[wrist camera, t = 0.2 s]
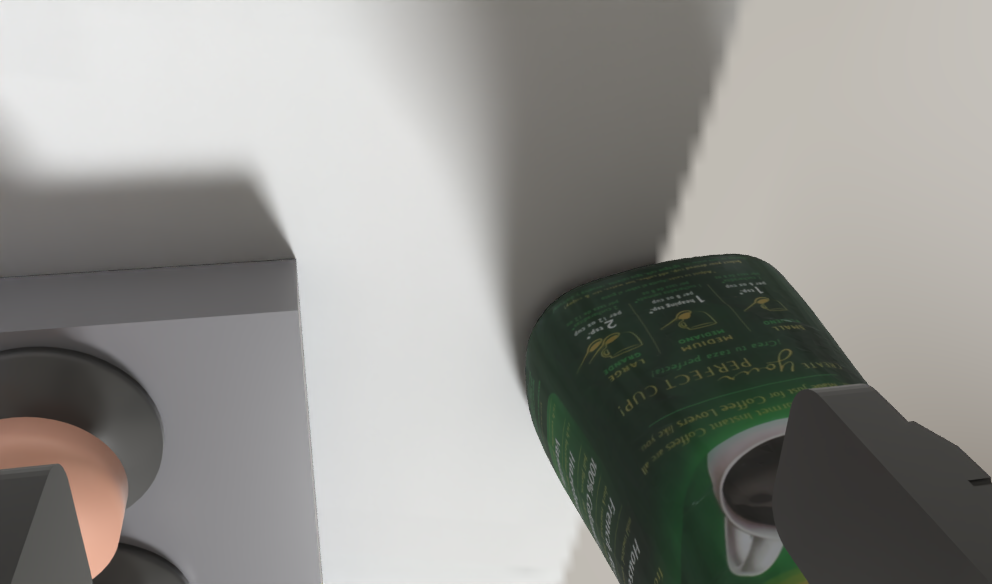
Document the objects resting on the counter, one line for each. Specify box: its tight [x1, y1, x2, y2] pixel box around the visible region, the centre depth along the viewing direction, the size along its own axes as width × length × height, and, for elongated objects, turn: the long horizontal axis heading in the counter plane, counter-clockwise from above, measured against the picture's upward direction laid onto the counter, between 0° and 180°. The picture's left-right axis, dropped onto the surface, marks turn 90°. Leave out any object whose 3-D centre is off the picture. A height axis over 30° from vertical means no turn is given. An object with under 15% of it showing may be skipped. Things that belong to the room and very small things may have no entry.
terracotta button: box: [0, 417, 128, 579], centre depth 23 cm, size 5×5×2 cm
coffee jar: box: [525, 254, 868, 584], centre depth 24 cm, size 10×8×19 cm
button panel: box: [0, 259, 323, 584], centre depth 30 cm, size 21×14×4 cm, turn 178°
